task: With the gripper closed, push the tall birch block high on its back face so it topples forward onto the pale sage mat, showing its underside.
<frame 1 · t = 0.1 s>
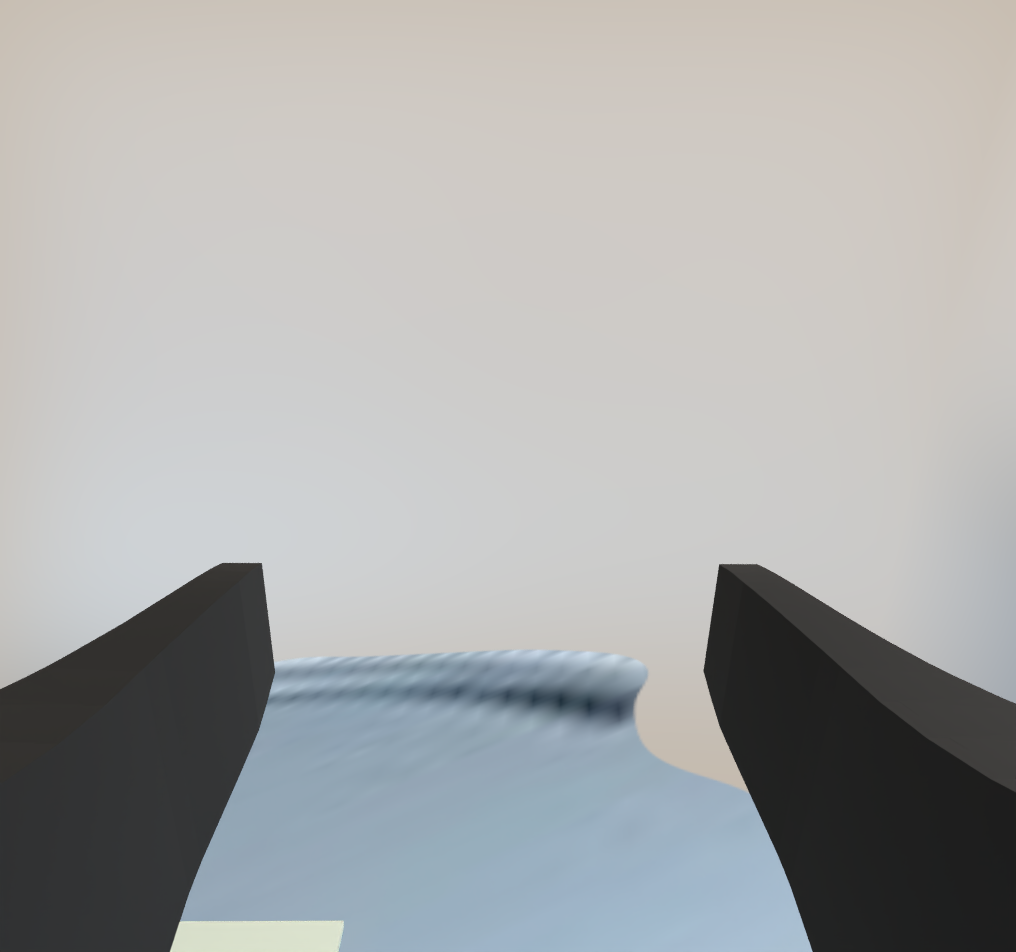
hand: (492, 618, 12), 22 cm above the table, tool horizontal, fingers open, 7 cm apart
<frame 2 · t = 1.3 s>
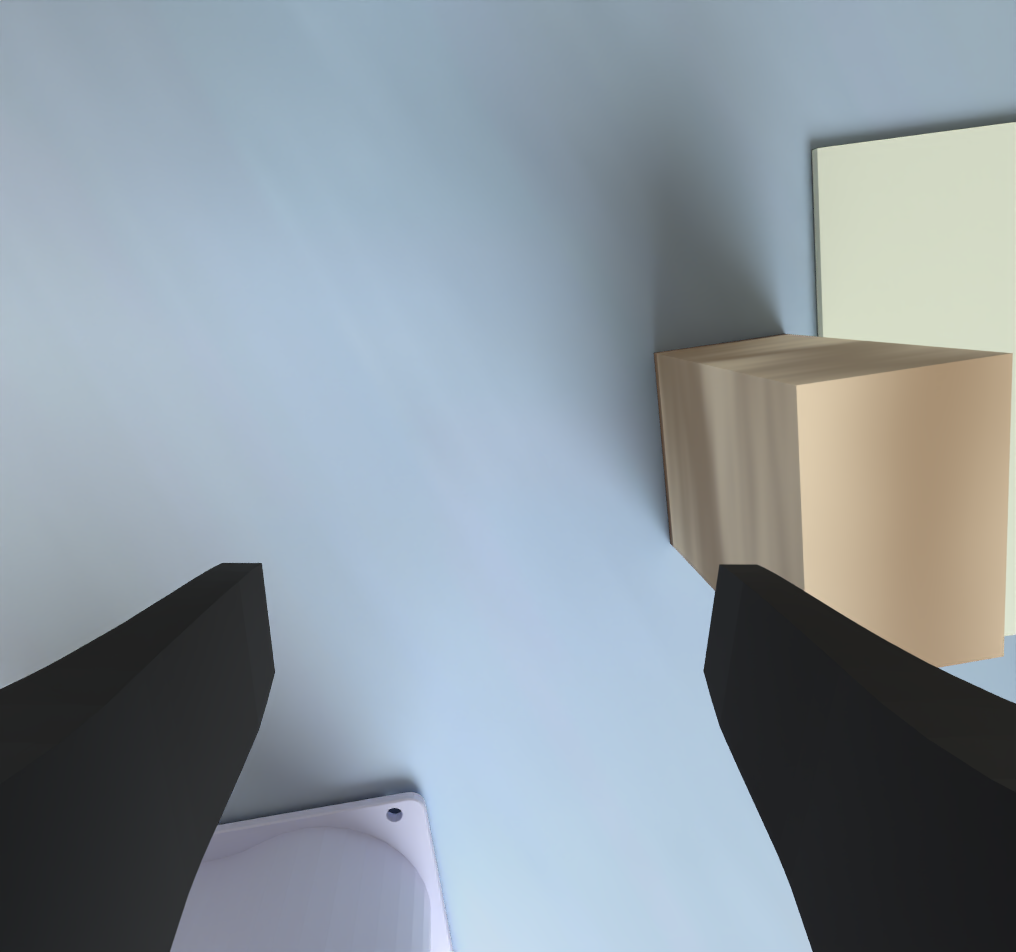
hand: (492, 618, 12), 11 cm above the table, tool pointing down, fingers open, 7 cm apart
birch block: (725, 441, 22), on the table
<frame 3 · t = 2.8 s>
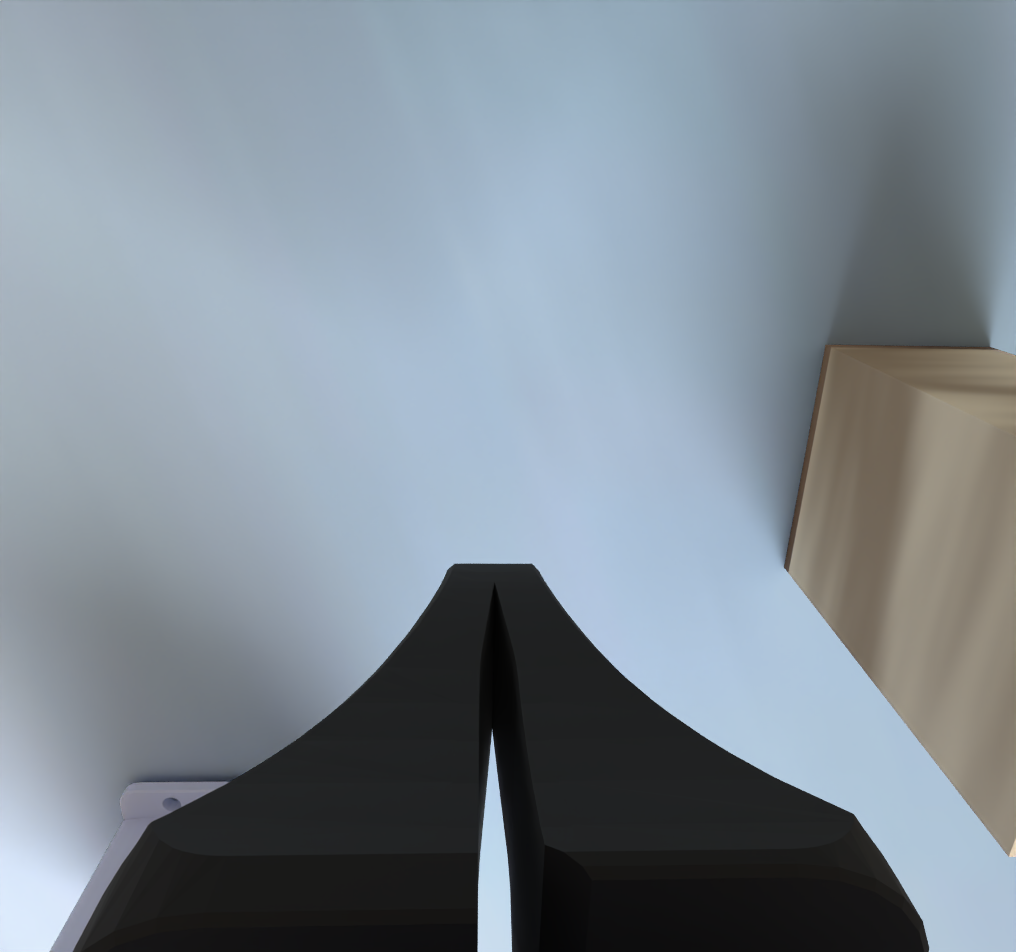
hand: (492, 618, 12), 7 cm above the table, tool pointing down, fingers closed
birch block: (881, 463, 18), on the table
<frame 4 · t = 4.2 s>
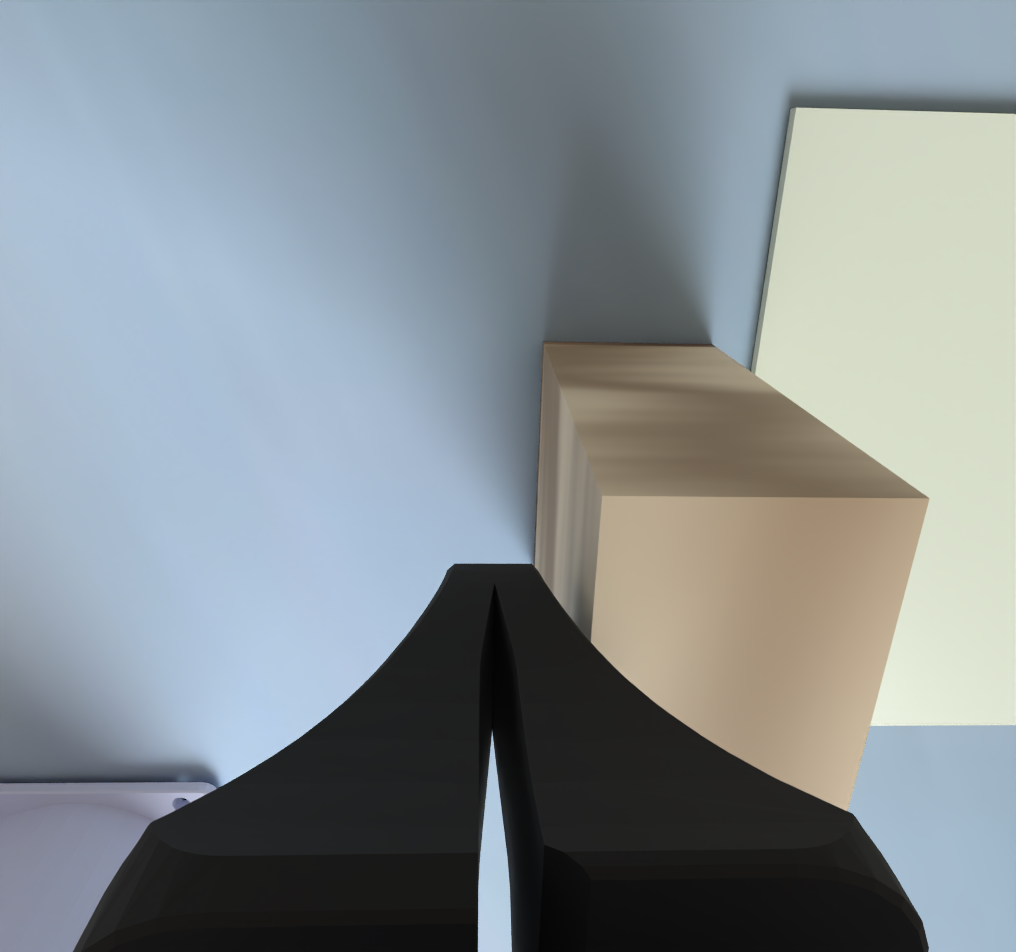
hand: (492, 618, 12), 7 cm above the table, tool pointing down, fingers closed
birch block: (617, 462, 18), on the table, touching gripper
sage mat: (1007, 466, 19), on the table
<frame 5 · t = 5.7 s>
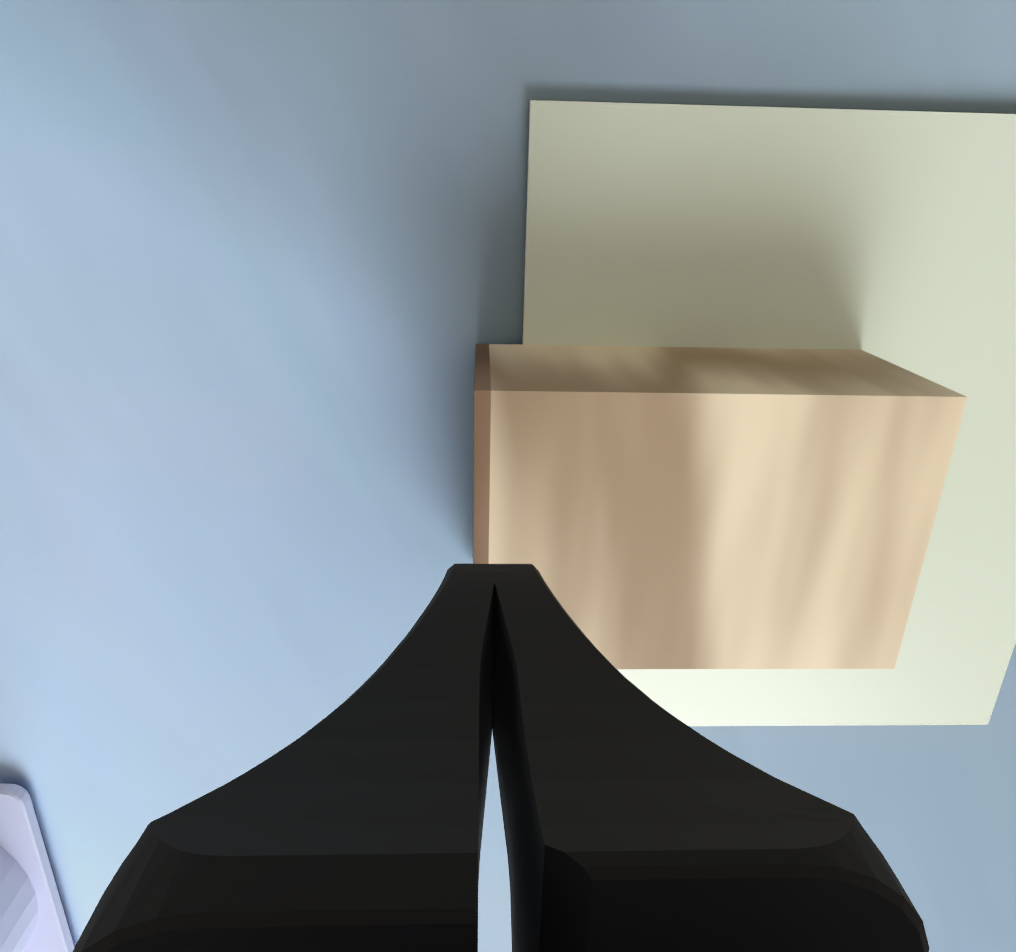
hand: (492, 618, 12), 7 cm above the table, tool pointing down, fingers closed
birch block: (474, 499, 16), point 2 cm above the table, tilted 90°, touching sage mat
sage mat: (795, 464, 18), on the table
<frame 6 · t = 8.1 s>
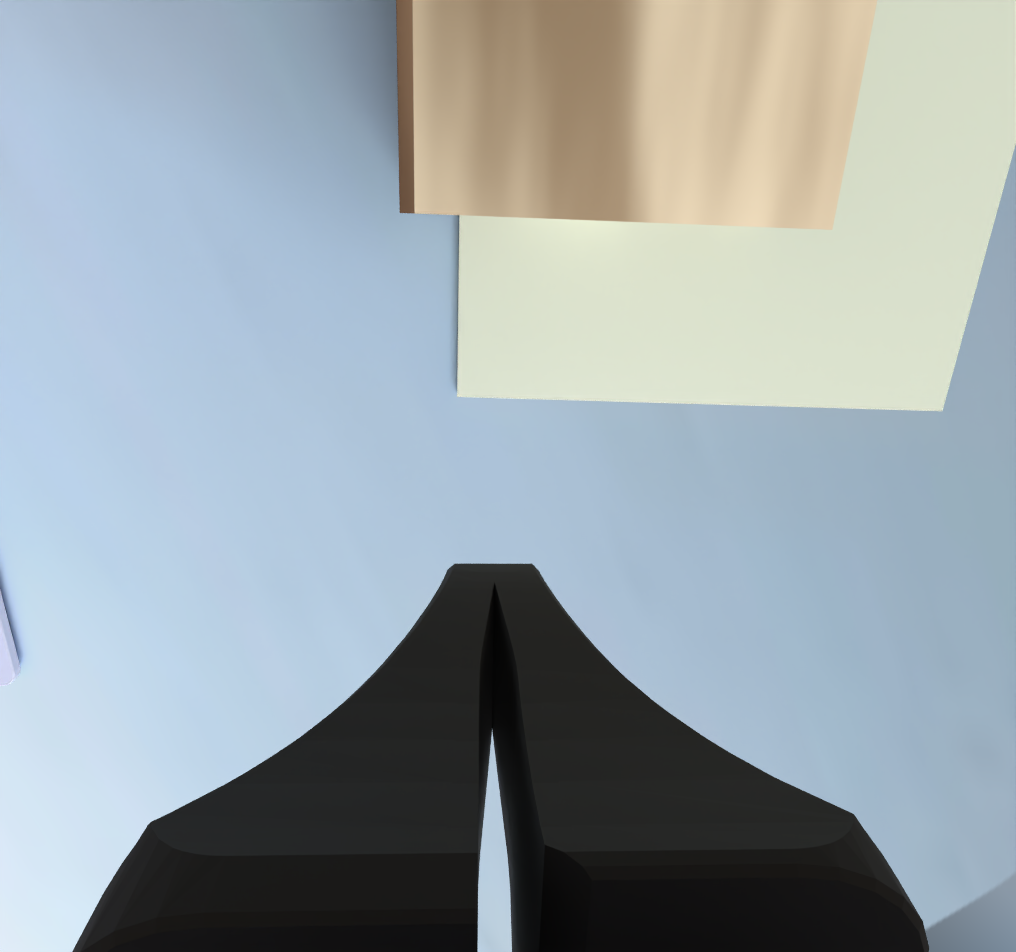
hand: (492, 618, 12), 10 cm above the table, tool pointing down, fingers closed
birch block: (407, 59, 16), point 2 cm above the table, tilted 90°, touching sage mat
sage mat: (744, 89, 18), on the table
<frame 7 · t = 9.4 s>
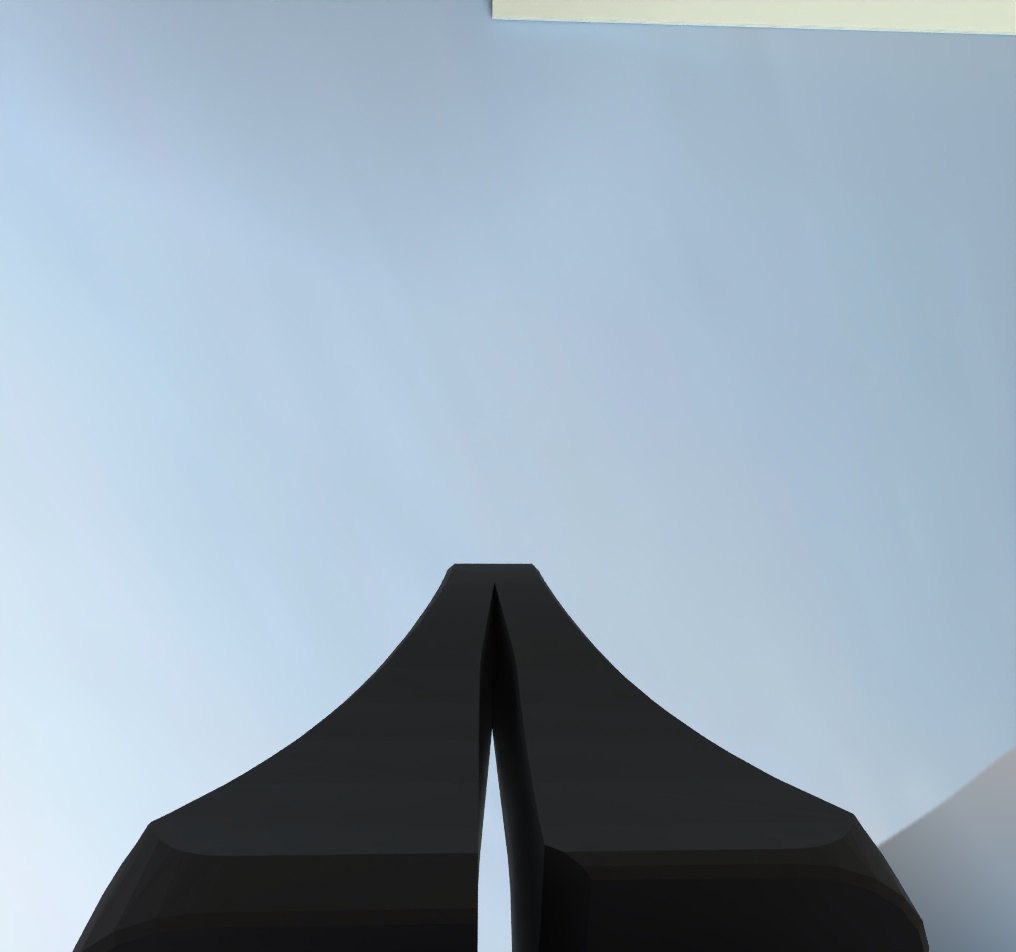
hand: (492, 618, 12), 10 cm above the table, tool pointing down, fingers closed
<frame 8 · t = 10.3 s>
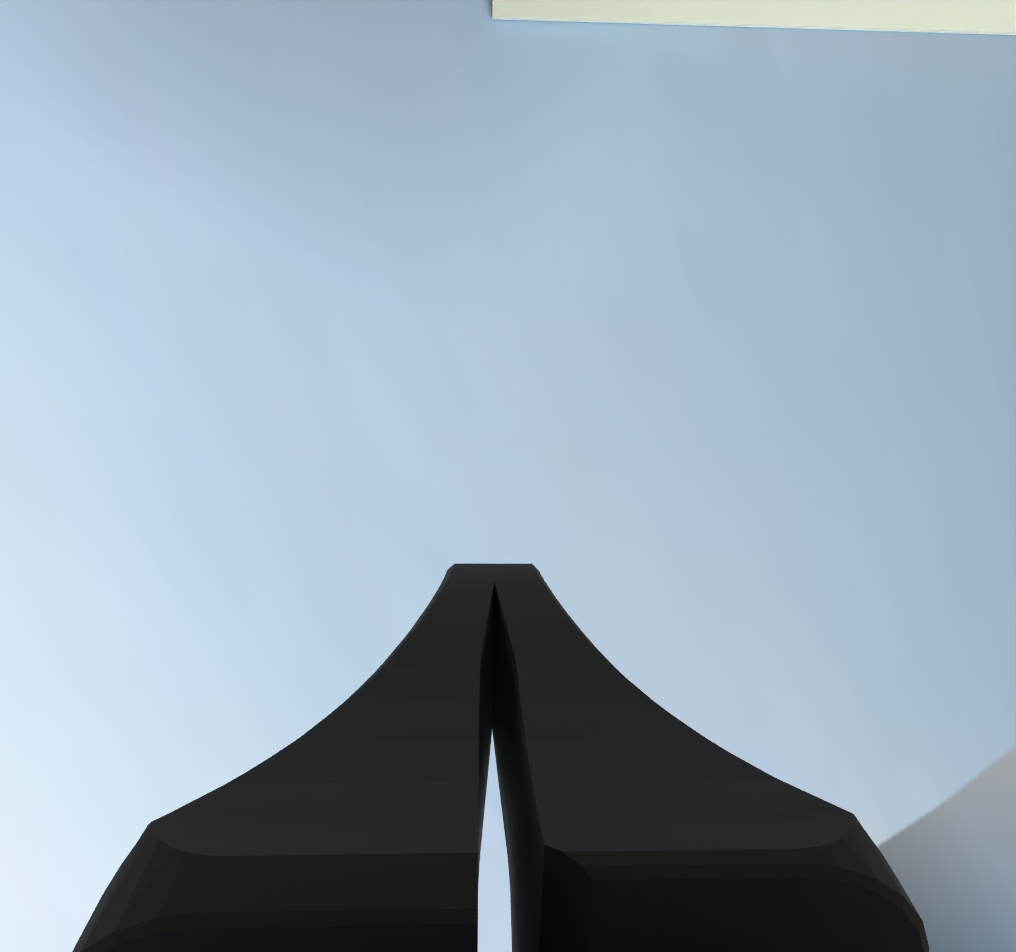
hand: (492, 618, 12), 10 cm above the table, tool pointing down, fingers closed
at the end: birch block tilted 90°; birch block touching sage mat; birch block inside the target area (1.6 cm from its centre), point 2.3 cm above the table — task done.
